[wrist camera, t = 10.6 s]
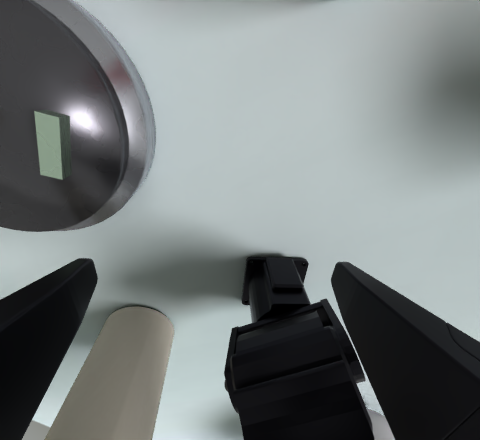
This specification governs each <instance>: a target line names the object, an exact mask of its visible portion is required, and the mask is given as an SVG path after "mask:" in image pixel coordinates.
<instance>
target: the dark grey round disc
mask: <svg viewBox="0 0 480 440" xmlns="http://www.w3.org/2000/svg"><path fill="white" fill-rule="evenodd" d="M33 1H35V2H36V3H38V4H39V5H41V6H42V7H44V8H45V9H46V10H48V11H49V12H51V13H52V14H54V15H55V16H56V17H57V18H58V19H59V20H60V21H62V22H63V23H64V24H65V25H66V26H67V27H69V28H70V29H71V30H72V31H73V32H74V33H75V34H76V35H77V37H78V38H79V39H80V40H81V41H82V42H83V43H84V44H85V45H86V46H87V47H88V49H89V50H90V51H91V53H92V54H93V55H94V56H95V58H96V59H97V60H98V62H99V63H100V65H101V66H102V68H103V69H104V71H105V73H106V74H107V76H108V77H109V79H110V81H111V83H112V85H113V87H114V89H115V91H116V93H117V95H118V98H119V100H120V103H121V106H122V108H123V111H124V115H125V119H126V123H127V128H128V136H129V158H128V165H127V169H126V172H125V176H124V178H123V180H122V182H121V185H120V187H119V188H118V190H117V191H116V193H115V194H114V195H113V197H112V198H111V199H110V200H109V201H108V202H107V203H106V204H105V205H104V206H103V207H101V208H100V209H99V210H98V211H97V212H96V213H95V214H93V215H92V216H91V217H89V218H88V219H86V220H84V221H82V222H80V223H78V224H76V225H74V226H71V227H68V228H65V229H59V230H54V231H67V230H75V229H81V228H85V227H89V226H92V225H94V224H97V223H99V222H102V221H104V220H105V219H107V218H109V217H111V216H112V215H114V214H115V213H116V212H117V211H118V210H120V209H121V208H122V207H123V206H124V205H125V204H126V202H127V201H128V200H129V199H130V198H131V197H132V196H133V195H134V193H135V192H136V191H137V190H138V189H139V188H140V187H141V185H142V184H143V182H144V180H145V179H146V177H147V175H148V173H149V170H150V168H151V165H152V161H153V158H154V152H155V144H156V128H155V121H154V114H153V110H152V106H151V102H150V99H149V96H148V93H147V91H146V88H145V85H144V83H143V81H142V79H141V77H140V75H139V73H138V71H137V69H136V67H135V65H134V64H133V62H132V61H131V59H130V58H129V56H128V55H127V53H126V51H125V50H124V49H123V47H122V46H121V45H120V44H119V42H118V41H117V40H116V39H115V37H114V36H113V35H112V34H111V33H110V32H109V31H108V30H107V29H106V28H105V27H104V26H103V25H102V24H101V23H100V22H99V21H98V20H97V19H96V18H95V17H94V16H93V15H91V14H90V13H89V12H88V11H87V10H85V9H84V8H83V7H82V6H80V5H79V4H77V3H76V2H74V1H73V0H33Z"/></svg>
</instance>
